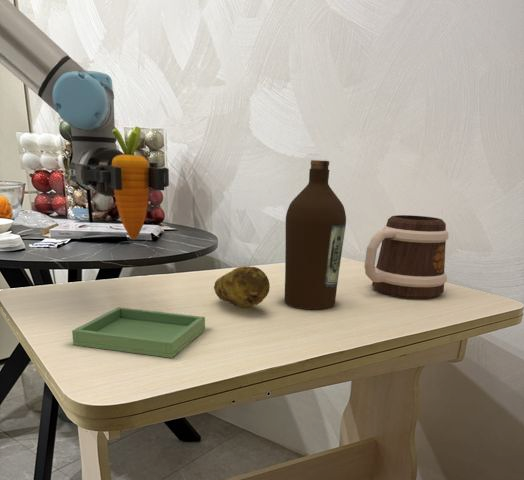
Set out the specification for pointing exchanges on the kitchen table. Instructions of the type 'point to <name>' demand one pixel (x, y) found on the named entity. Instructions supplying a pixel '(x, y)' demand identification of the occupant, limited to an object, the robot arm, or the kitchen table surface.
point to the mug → (408, 257)
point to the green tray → (140, 331)
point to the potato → (243, 286)
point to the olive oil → (314, 243)
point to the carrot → (132, 184)
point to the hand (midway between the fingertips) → (140, 179)
